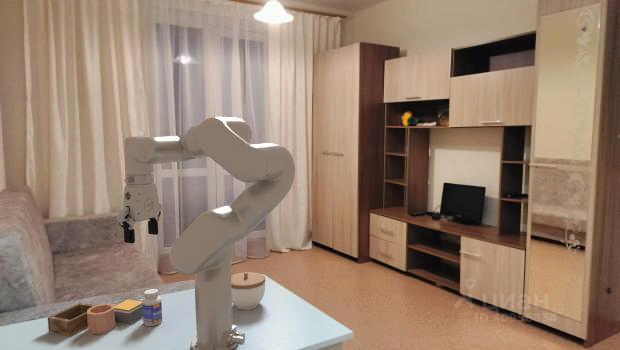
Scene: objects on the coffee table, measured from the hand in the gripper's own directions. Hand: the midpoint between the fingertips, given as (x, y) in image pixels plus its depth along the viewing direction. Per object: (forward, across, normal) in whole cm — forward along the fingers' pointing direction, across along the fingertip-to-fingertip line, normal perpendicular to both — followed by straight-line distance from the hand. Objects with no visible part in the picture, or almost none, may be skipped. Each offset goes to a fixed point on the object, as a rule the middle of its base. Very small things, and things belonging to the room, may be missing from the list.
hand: (141, 238), depth 120 cm
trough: (+27, -7, +19) cm, 34 cm away
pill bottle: (+27, +2, -1) cm, 27 cm away
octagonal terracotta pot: (+27, -6, +10) cm, 29 cm away
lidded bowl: (+26, +22, -23) cm, 41 cm away
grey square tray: (+27, +3, +9) cm, 28 cm away
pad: (+24, +3, +9) cm, 26 cm away
